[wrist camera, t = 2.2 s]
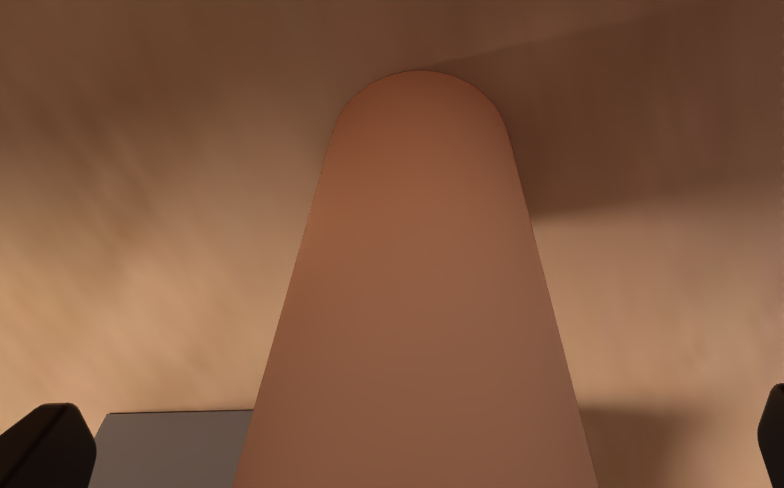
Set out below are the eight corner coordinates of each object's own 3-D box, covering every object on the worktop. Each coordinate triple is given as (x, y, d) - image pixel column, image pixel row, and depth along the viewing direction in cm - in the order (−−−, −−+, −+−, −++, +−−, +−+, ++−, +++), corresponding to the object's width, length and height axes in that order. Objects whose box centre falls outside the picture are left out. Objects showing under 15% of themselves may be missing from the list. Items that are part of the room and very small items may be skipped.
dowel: (342, 237, 16) (248, 722, 7) (317, 77, 13) (143, 512, 5) (508, 229, 15) (608, 728, 7) (512, 63, 13) (664, 505, 5)
